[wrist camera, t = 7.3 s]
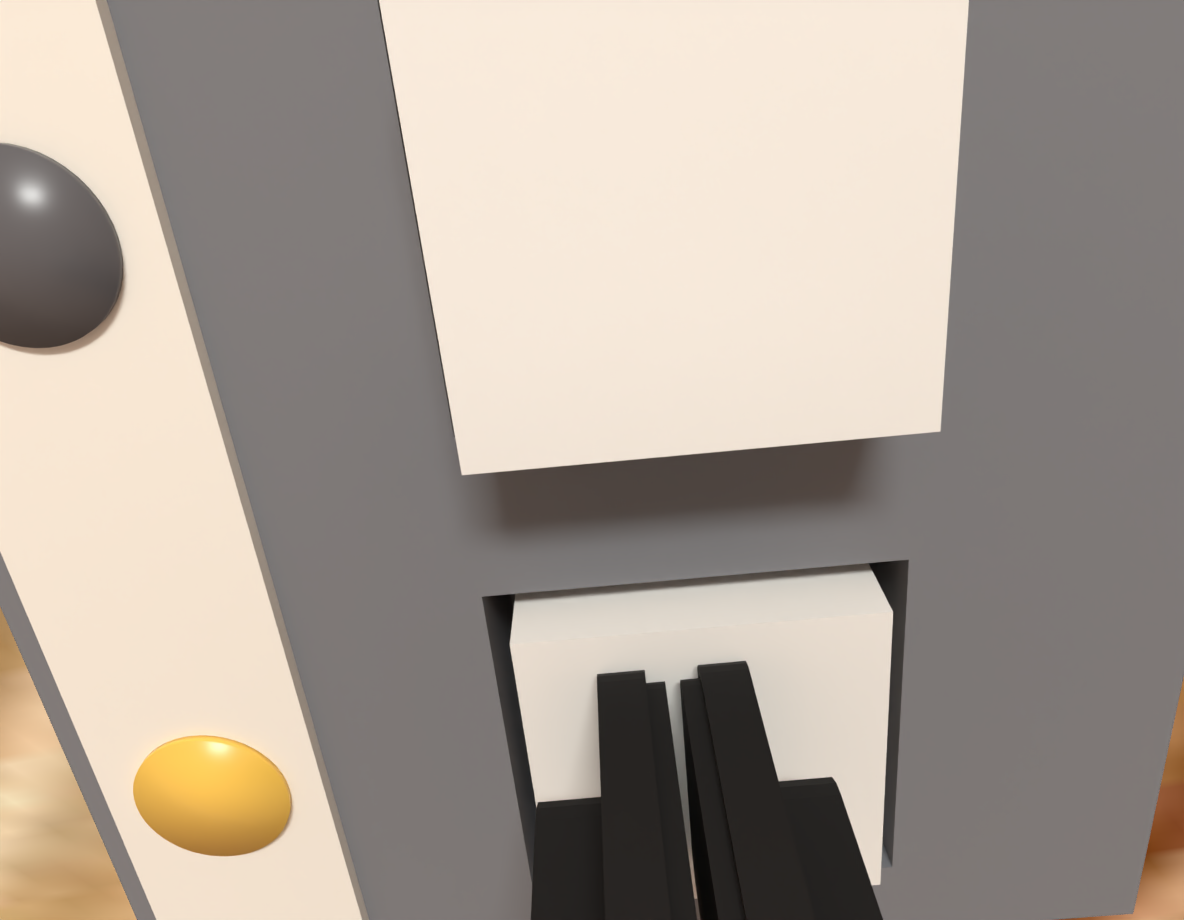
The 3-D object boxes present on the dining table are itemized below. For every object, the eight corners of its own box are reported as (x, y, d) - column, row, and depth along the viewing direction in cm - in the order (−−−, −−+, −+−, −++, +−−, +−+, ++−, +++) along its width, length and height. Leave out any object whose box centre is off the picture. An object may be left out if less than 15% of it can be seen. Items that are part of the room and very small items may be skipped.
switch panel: (1330, -1436, 7) (1930, -2588, 4) (1035, 751, 15) (1144, 932, 12) (-452, -1163, 7) (-1190, -1994, 4) (237, 816, 16) (157, 1006, 13)
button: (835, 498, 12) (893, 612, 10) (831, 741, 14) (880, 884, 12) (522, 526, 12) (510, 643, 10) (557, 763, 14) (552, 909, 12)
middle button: (871, -96, 8) (977, -131, 6) (861, 336, 10) (940, 432, 8) (424, -46, 9) (368, -63, 6) (487, 370, 10) (461, 475, 8)
